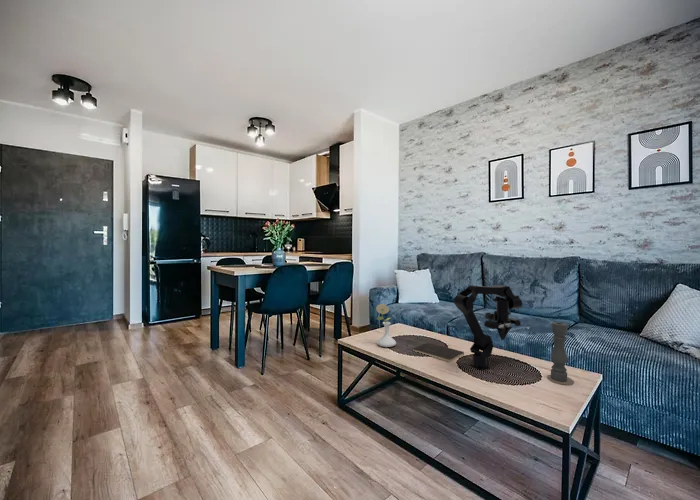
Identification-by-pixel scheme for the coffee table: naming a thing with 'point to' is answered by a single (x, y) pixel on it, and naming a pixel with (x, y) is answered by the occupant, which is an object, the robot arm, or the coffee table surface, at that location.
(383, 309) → the flower in vase
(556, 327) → the candle holder
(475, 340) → the robot arm
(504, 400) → the coffee table surface
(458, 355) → the hardcover book
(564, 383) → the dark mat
